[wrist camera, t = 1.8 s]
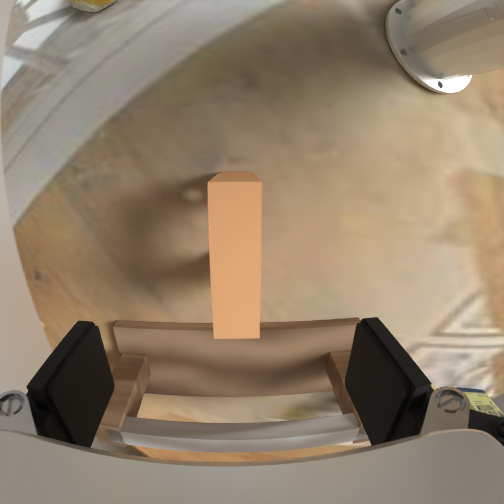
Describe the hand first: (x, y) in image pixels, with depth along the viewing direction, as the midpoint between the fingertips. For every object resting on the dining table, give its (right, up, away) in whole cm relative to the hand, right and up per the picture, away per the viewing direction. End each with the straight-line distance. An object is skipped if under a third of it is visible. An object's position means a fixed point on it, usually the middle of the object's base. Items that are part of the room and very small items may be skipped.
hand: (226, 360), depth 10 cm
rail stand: (-1, -9, +24) cm, 26 cm away
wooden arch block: (-1, +6, +19) cm, 20 cm away
